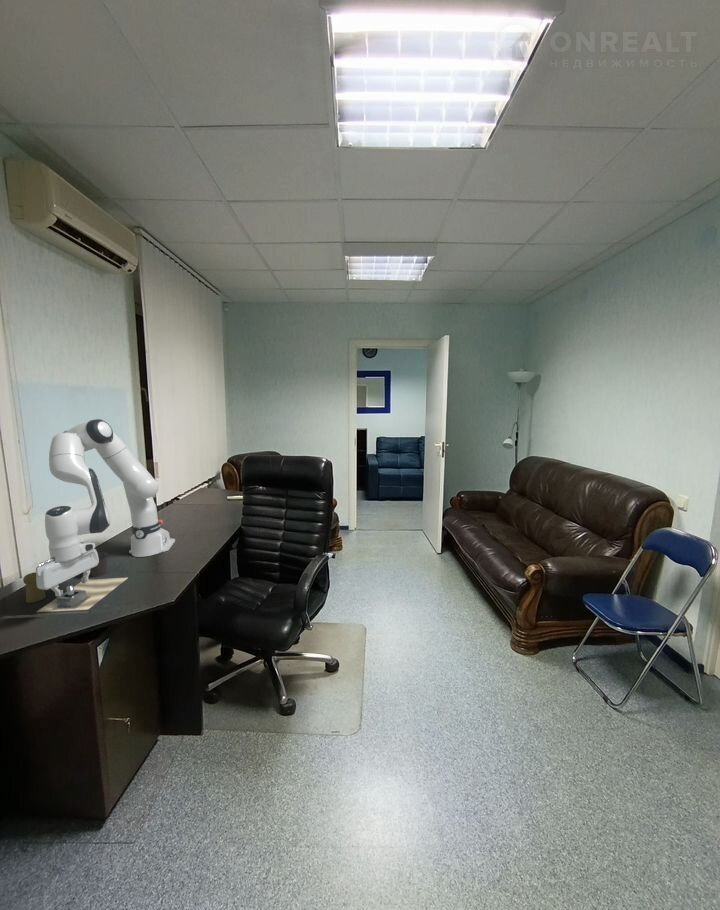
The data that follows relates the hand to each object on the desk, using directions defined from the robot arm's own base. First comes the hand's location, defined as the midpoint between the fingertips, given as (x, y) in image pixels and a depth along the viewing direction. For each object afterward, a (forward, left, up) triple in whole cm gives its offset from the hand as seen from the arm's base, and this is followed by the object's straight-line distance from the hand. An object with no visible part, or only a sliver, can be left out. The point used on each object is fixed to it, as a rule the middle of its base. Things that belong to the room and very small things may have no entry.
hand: (72, 588), depth 135 cm
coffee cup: (-24, -7, -7) cm, 26 cm away
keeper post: (0, -1, -5) cm, 5 cm away
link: (0, -1, -5) cm, 5 cm away
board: (-7, -1, -7) cm, 9 cm away
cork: (-5, -18, -7) cm, 19 cm away
